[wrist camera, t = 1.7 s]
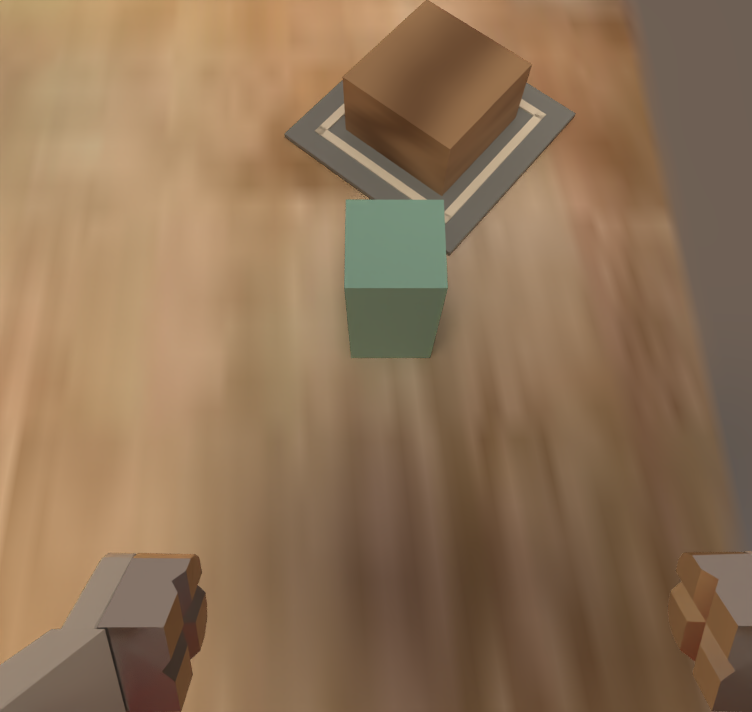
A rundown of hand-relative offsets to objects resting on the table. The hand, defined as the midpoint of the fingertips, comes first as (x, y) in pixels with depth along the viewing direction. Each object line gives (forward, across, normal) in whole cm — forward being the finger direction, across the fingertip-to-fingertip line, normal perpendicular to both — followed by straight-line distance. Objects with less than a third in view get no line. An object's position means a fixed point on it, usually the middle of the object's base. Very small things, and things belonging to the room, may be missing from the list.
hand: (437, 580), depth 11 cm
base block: (+30, -2, -5) cm, 31 cm away
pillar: (+22, 0, +4) cm, 23 cm away
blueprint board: (+31, -2, -5) cm, 31 cm away
